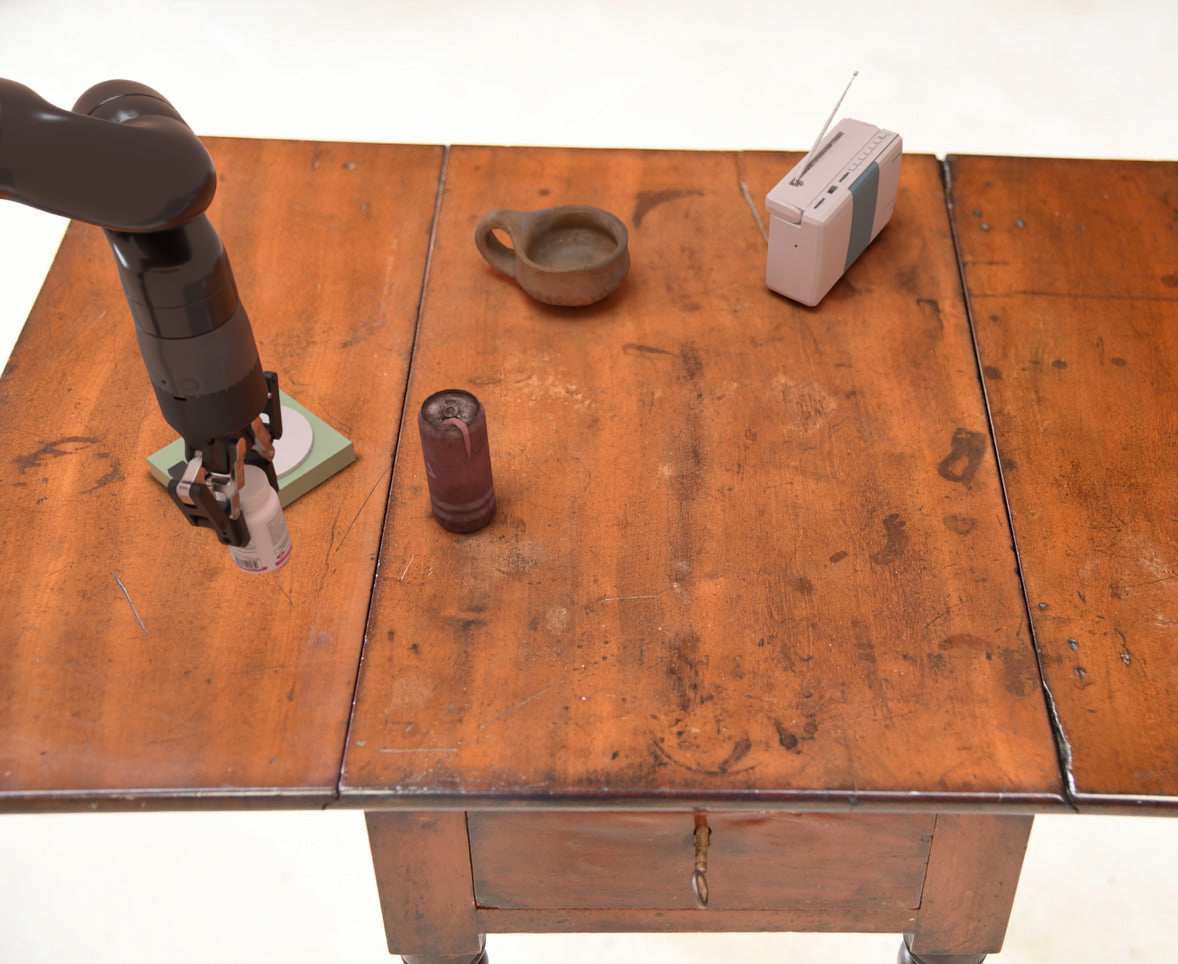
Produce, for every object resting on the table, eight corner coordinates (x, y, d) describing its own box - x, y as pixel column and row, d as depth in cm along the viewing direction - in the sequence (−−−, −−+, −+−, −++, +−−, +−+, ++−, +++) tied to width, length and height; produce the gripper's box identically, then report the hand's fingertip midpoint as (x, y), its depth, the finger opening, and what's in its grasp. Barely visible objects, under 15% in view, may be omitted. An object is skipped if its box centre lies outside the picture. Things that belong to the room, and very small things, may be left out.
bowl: (464, 318, 155) (459, 232, 150) (485, 272, 167) (481, 191, 162) (625, 325, 155) (625, 239, 150) (634, 278, 167) (634, 197, 162)
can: (458, 546, 134) (443, 442, 124) (421, 509, 137) (403, 404, 127) (510, 516, 137) (499, 412, 127) (472, 480, 140) (458, 376, 130)
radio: (816, 317, 160) (833, 168, 145) (754, 292, 162) (764, 144, 148) (894, 226, 172) (916, 81, 158) (835, 205, 175) (851, 60, 161)
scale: (232, 542, 133) (224, 519, 131) (152, 475, 138) (143, 453, 136) (356, 459, 141) (351, 437, 139) (276, 400, 147) (270, 377, 144)
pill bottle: (278, 523, 116) (258, 452, 110) (302, 559, 114) (282, 488, 108) (223, 547, 114) (199, 475, 108) (246, 584, 112) (223, 513, 105)
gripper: (197, 286, 104) (245, 448, 116) (101, 415, 94) (165, 577, 106) (293, 301, 103) (331, 463, 115) (206, 433, 93) (258, 594, 105)
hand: (251, 517), depth 111 cm, fingers closed on pill bottle, 4 cm apart
